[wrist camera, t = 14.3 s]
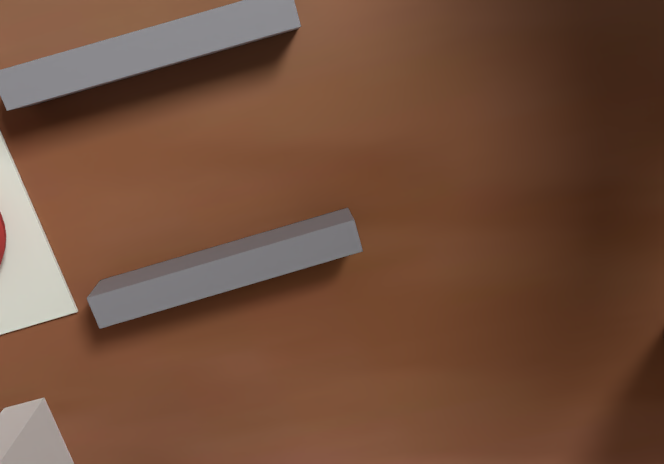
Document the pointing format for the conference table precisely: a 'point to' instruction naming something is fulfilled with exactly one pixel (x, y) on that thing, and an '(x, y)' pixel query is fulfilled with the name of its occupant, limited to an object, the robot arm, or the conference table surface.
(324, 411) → the conference table surface
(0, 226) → the canned food
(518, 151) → the conference table surface
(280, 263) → the chute
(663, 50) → the conference table surface
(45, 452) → the robot arm
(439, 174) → the conference table surface
